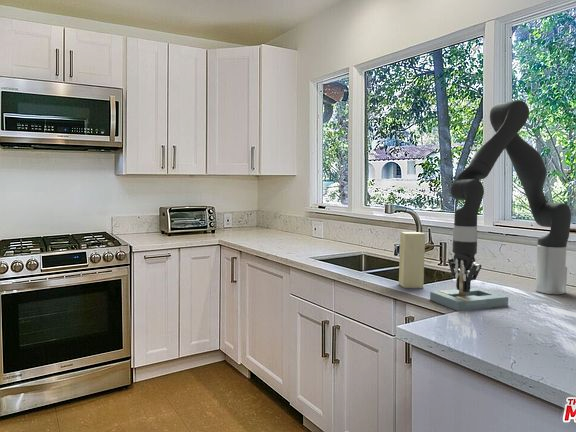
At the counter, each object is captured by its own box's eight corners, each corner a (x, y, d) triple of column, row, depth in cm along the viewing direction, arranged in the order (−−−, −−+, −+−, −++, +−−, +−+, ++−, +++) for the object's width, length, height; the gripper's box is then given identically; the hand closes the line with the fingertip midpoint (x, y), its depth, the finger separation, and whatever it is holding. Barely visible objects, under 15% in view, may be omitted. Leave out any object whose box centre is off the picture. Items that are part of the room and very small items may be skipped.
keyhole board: (476, 295, 157) (477, 286, 157) (507, 305, 144) (508, 296, 144) (430, 299, 151) (430, 291, 151) (458, 311, 138) (458, 301, 137)
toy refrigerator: (417, 283, 175) (419, 231, 174) (424, 288, 168) (425, 233, 166) (398, 283, 175) (399, 231, 174) (403, 288, 168) (404, 233, 166)
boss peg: (463, 300, 149) (464, 262, 149) (472, 303, 145) (474, 265, 144) (452, 301, 148) (453, 263, 147) (461, 305, 144) (463, 265, 143)
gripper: (489, 241, 140) (487, 295, 141) (459, 236, 153) (457, 285, 154) (470, 242, 137) (468, 296, 139) (441, 237, 150) (440, 286, 152)
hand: (463, 290), depth 146 cm, fingers closed on boss peg, 2 cm apart
